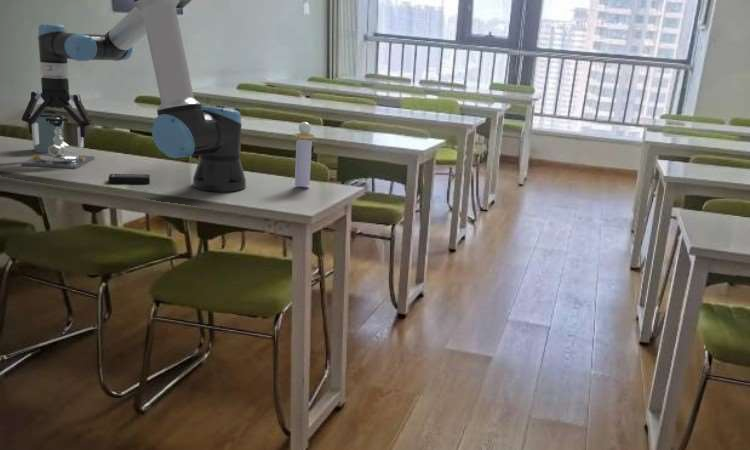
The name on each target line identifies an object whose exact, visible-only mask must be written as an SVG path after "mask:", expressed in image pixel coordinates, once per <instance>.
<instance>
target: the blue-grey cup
mask: <svg viewBox="0 0 750 450" xmlns="http://www.w3.org/2000/svg"><path fill="white" fill-rule="evenodd" d="M33 114H34V113H32V114H31V116H30V118H31V117H32V115H33ZM52 116H56V117H64V118H65V115H62V114H58V113H46V112H43V113H42V114H41V116H40V117H39V118H38V119H37V120H36V121H35V123H38V131H39V144H37V145H33V149H34V152H36V153H41V154H43V153H48V147H50V146H52V145H53V144H54V141H53V138H54V137H55V136H56V134H55V132H54V130H55V129H56V126H54V125H52V124H50V122H49V121H46V117H52ZM52 123H54V122H52ZM64 124H65V121H62V125H61V126H59V129H61V134H60V136H62V137H63V138H64V132H63V130H64Z"/></svg>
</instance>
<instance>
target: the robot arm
mask: <svg viewBox="0 0 750 450" xmlns="http://www.w3.org/2000/svg"><path fill="white" fill-rule="evenodd" d="M191 2H192V0H133V3H134V7H133V8H132V9H131V10H130V11H129V12H128V13H127V14H126V15H125V16H124V17H122V18H121V19H120V20H119V21H118V22H117V23H115V25H114V26H113V27H111V29H110V30H108V31H107V32H106V33H105V34H98V33H97V34H91V33H89V34H88V33H74V32H67V31H66V30H67V29H66V26H65V25H62V24H54V23H53V24H51V23H40V24H39V25H38V29H37V31H38V32H37V33H38V35H37V40H38V51H39V67H40V68H39V69H40V75H41V76H42V77H41V78H40V82H41V83H40V84H41V85H40V86H41V92H39V91H38V90H34V91H31V92H30V100H29V101H28V103H27V106H26V109H25V110H24V112H23V114H22V117H21V121H22V122H25V123H27V124H28V133H29V134H30V135H31V136H32V145H33V146H34V145H37V144H39V131H38V123H35V121H36V120H37V119H38V118H39V117H40V116H41V114H42V113H45V111H46V110H47V109H48V108H53V109H54V108H57V109H62V108H63V110H64V111H66V112H67V114H69V116H71V118H72V119H73V120H74V121H75V122H76V123H77V125H78V126H77V127H76V128H77V148H78V149H82V148H84V147H85V143H84V140H85V139H84V138H85V137H86V136H87V127H89V126H91V125H92V124H93V122H92V121H93V120H92V119H91V118H90V115H89V114H88V112H87V110H86V108H85V106H84V104H83V103H82V100H81V95H80V94H79V93H77V94H70V91H69V90H70V85H69V84H70V83H69V79H68V76H69V67H68V66H69V64H68V60H73V61H76V62H84V61H85V62H88V61H115V62H116V61H125V60H128V59H129V58H131V55H132V53H133V46H135V45H136V44H137V43H138V42H139V41H141V39H143V38H144V37H145V36H147V40H148V45H149V51H150V55H151V60H152V65H153V70H154V73H155V79H156V83H157V84H156V85H157V88H158V92H159V93H158V94H159V98H160V103H159V104H160V105H159V106H158V107H157V108H156V113H157V117H155V119H154V120H153V121H152V126H151V135H152V140H153V142H154V144H155V146H156V148H157V149H158V150H159V151H160V152H161V153H163V154H164V155H165V156H167V157H170V158H172V159H178V158H181V159H182V158H183V159H185V158H189V157H194V156H199V157H198V163H197V166H196V169H195V172H194V174H193V176H192V185H193V187H194V188H195V189H198V190H201V191H205V192H215V193H223V192H224V193H226V192H227V193H228V192H237V191H238V192H239V191H240V190H244V189H246V187H247V185H246V184H247V182H246V181H247V180H246V176H245V172H244V170H243V166H242V165H243V164H242V163H241V148H242V147H241V144H242V125H243V124H242V116H241V113H240V111H239V110H236V109H231V108H224V107H219V106H218V107H217V106H211V105H202V104H201V102H199V100H197V99H196V98H195V97H194V93H193V87H192V83H191V81H192V80H191V78H190V72H189V67H188V62H187V58H186V57H187V56H186V53H185V52H186V51H185V47H184V42H183V37H182V32H181V27H180V23H179V19H178V18H179V17H178V11H177V10H181V9H183V8H185V7H187V5H188V4H189V3H191ZM39 99H42V101H43V102H42V103H41V104H40V106H39V107H38V108H37V110H36V111H34V109H35V107H36V105H37V102H38V101H39ZM70 100H71V101H72V102H73V103H74V106H75V107H76V109H77V111H78V112H79V113H78V112H77V111H76V110H75V109H74V108H73V106H72V105H71V104H70ZM33 111H34V113H33ZM31 114H33V115H32V117H31V118H30V116H31Z"/></svg>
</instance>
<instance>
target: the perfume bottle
mask: <svg viewBox="0 0 750 450" xmlns="http://www.w3.org/2000/svg"><path fill="white" fill-rule="evenodd" d="M311 130H312V126H311V124H310V123H309V122H308V121H302V122H300V124H299V125H298V131H299V132H298V133H297V132H296V133H295V134H294V137H295V138H299V139H300V140H299V139H298V140H296V143H295V144H296V147H295V148H296V149H295V166H294V167H295V168H294V169H295V170H294V186H296V187H299V188H306V187H310V184H311V182H310V181H311V166H312V165H311V164H312V154H314V144H313V142H312V141H311V140H308V139H314V138H315V135H314V134H312V133H310V132H311ZM301 139H302V140H301ZM304 139H307V140H304ZM307 185H309V186H307Z"/></svg>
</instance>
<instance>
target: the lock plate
mask: <svg viewBox="0 0 750 450" xmlns="http://www.w3.org/2000/svg"><path fill="white" fill-rule="evenodd" d="M93 160H95V156H91V155H78V154H76V153H72V152H71V151H68V152H66V153H65V154H64V155H62V156H56V157H53V156H51V155H50V154H49V153H41V154H37V153H35V154H33V155H32V158H29V159H28V160H25V161H22V162H21V166H23V167H24V166H27V167H40V168H41V167H43V168H56V169H57V168H58V169H59V168H60V169H71V170H73V169H75V170H77V169H78V168H80V167H82V166H85V165H86V164H88V163H90V162H92V161H93Z"/></svg>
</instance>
